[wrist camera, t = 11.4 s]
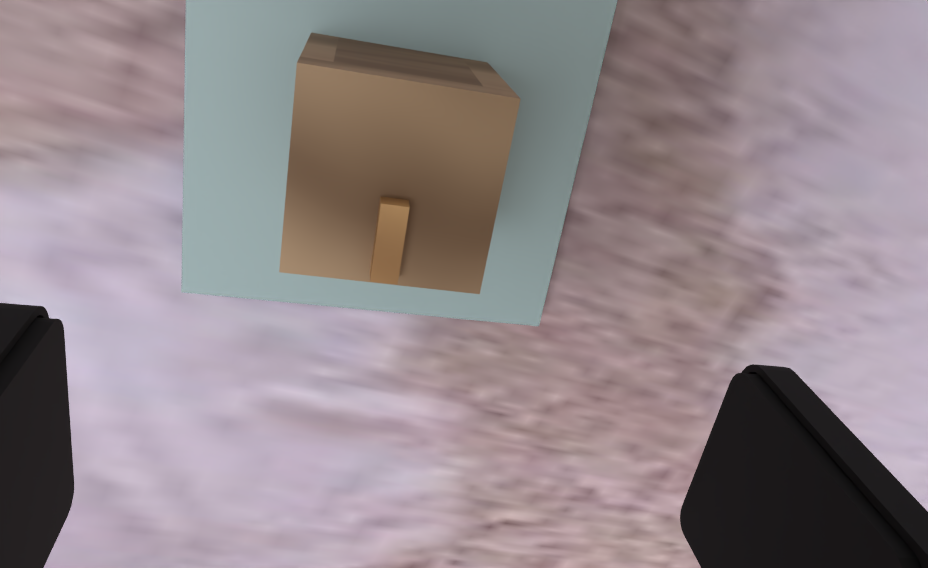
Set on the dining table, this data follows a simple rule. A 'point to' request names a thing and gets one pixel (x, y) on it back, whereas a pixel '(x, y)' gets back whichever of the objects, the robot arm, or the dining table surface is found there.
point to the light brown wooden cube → (394, 165)
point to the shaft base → (269, 131)
